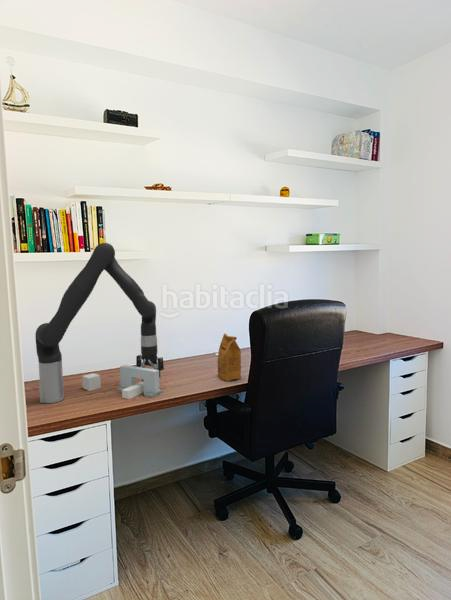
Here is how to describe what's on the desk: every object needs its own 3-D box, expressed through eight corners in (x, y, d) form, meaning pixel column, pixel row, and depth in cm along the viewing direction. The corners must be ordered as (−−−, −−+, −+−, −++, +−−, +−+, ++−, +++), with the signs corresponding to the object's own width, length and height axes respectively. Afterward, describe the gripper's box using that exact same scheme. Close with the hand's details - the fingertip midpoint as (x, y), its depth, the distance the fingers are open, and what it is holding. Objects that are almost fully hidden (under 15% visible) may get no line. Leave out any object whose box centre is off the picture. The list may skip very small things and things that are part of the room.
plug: (129, 399, 181) (128, 389, 181) (121, 397, 183) (121, 387, 183) (156, 386, 198) (156, 377, 197) (149, 385, 200) (148, 376, 199)
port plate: (151, 397, 183) (151, 373, 181) (117, 391, 192) (116, 367, 191) (162, 392, 190) (162, 368, 188) (128, 386, 199) (128, 363, 198)
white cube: (82, 388, 197) (82, 375, 196) (94, 385, 201) (93, 373, 201) (89, 391, 193) (88, 378, 192) (100, 388, 197) (100, 375, 197)
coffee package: (232, 373, 219) (232, 331, 217) (243, 379, 208) (243, 336, 205) (214, 376, 215) (214, 333, 212) (225, 382, 203) (224, 337, 201)
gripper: (166, 343, 195) (167, 377, 197) (142, 341, 202) (143, 374, 204) (156, 347, 189) (157, 382, 191) (131, 344, 195) (133, 378, 197)
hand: (150, 378), depth 197 cm, fingers open, 8 cm apart
